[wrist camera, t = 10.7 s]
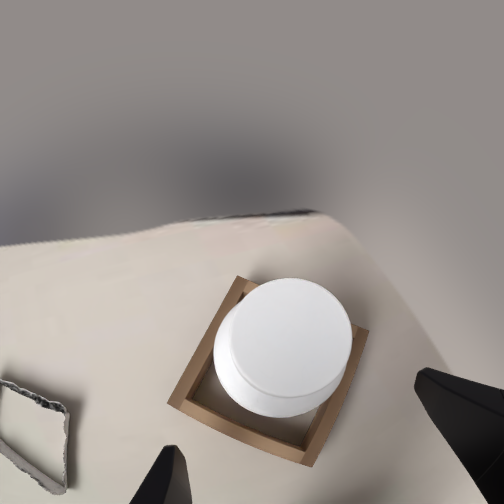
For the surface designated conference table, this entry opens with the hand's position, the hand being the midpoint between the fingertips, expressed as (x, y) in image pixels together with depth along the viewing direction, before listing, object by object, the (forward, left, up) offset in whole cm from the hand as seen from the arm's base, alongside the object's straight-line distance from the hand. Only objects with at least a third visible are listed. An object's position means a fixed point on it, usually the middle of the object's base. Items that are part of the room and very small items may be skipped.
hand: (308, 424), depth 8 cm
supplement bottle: (+2, -3, -13) cm, 14 cm away
